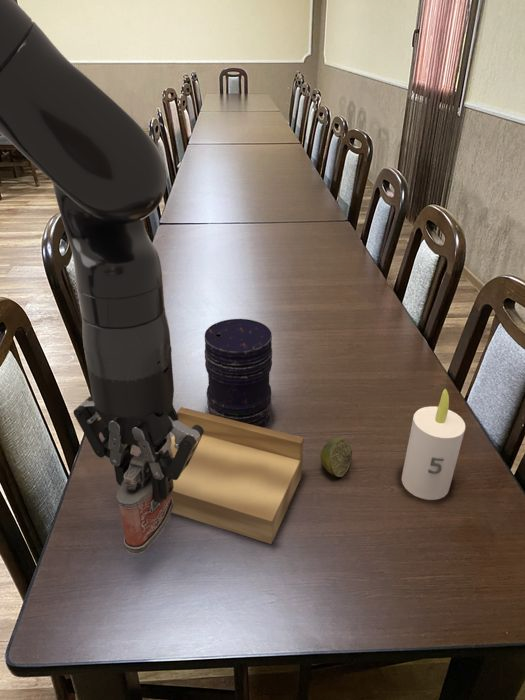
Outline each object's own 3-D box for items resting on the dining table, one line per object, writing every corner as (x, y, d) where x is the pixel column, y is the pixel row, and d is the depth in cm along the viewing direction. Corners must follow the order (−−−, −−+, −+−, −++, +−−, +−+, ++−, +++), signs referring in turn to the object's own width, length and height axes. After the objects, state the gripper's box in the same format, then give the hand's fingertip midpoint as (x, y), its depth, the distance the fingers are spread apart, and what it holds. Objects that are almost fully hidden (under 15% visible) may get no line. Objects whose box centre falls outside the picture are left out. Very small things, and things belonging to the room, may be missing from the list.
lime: (350, 459, 77) (353, 431, 74) (352, 483, 73) (356, 455, 70) (319, 457, 77) (321, 429, 74) (319, 481, 73) (321, 453, 70)
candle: (403, 498, 70) (421, 406, 63) (400, 463, 76) (416, 375, 68) (452, 504, 70) (477, 412, 62) (446, 468, 75) (468, 380, 67)
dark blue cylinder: (266, 396, 89) (268, 316, 82) (275, 434, 81) (277, 350, 73) (206, 400, 88) (202, 320, 80) (209, 439, 80) (204, 354, 72)
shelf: (271, 544, 64) (272, 502, 60) (140, 502, 69) (134, 462, 66) (301, 476, 74) (303, 437, 70) (184, 444, 79) (181, 406, 75)
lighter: (145, 557, 56) (135, 488, 51) (117, 548, 57) (105, 479, 52) (179, 502, 63) (174, 436, 58) (153, 495, 64) (146, 429, 59)
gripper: (37, 358, 48) (68, 497, 56) (178, 394, 43) (188, 538, 52) (89, 322, 54) (110, 453, 63) (217, 350, 50) (220, 486, 58)
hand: (145, 491), depth 57 cm, fingers closed on lighter, 3 cm apart
